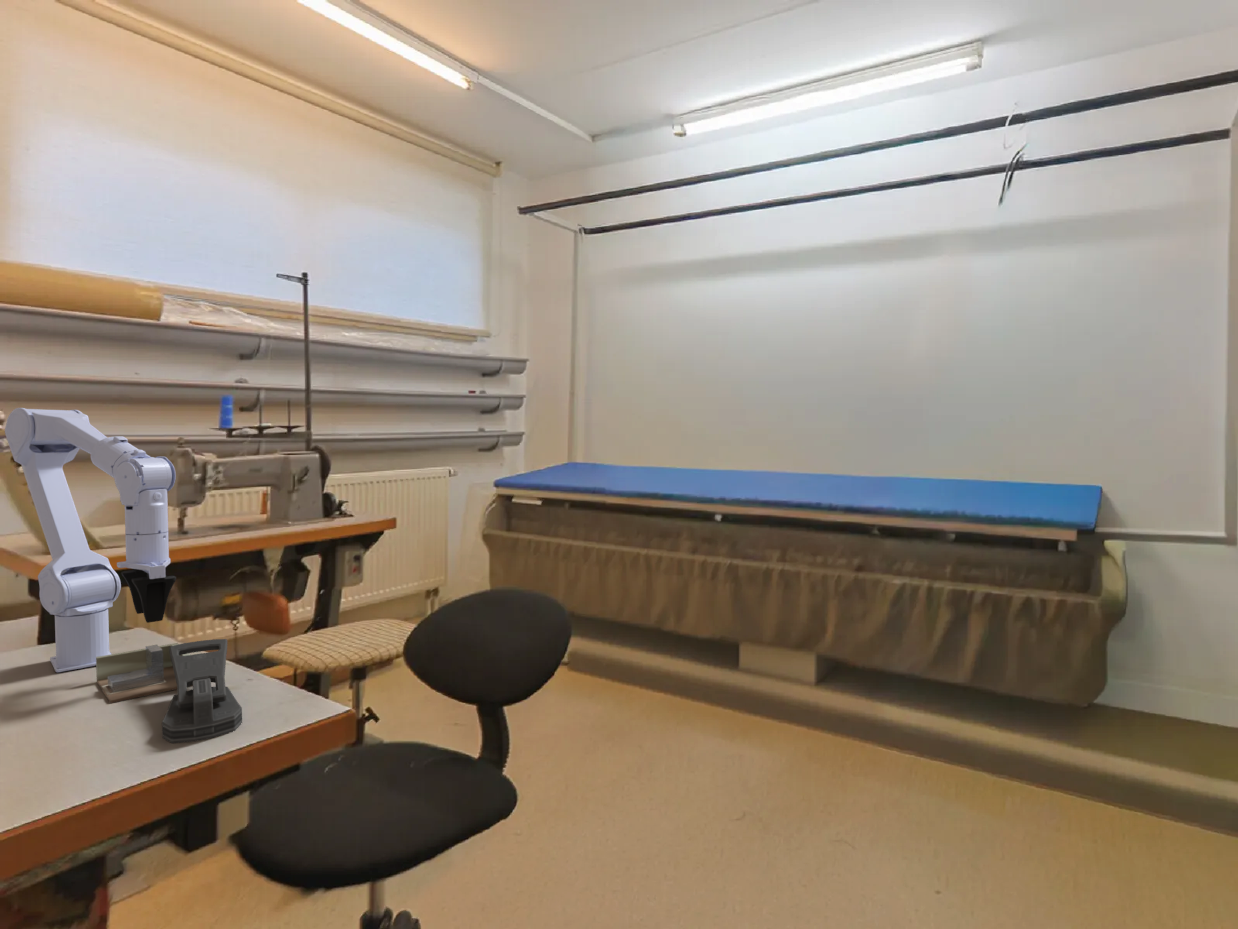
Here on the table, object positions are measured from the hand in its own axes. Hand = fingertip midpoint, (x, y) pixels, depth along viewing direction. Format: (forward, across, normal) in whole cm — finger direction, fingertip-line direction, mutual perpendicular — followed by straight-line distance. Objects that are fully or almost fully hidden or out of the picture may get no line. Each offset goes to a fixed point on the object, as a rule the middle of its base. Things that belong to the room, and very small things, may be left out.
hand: (149, 616), depth 113 cm
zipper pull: (+10, +21, +2) cm, 24 cm away
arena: (+9, +4, -1) cm, 10 cm away
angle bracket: (+9, +5, -3) cm, 11 cm away
